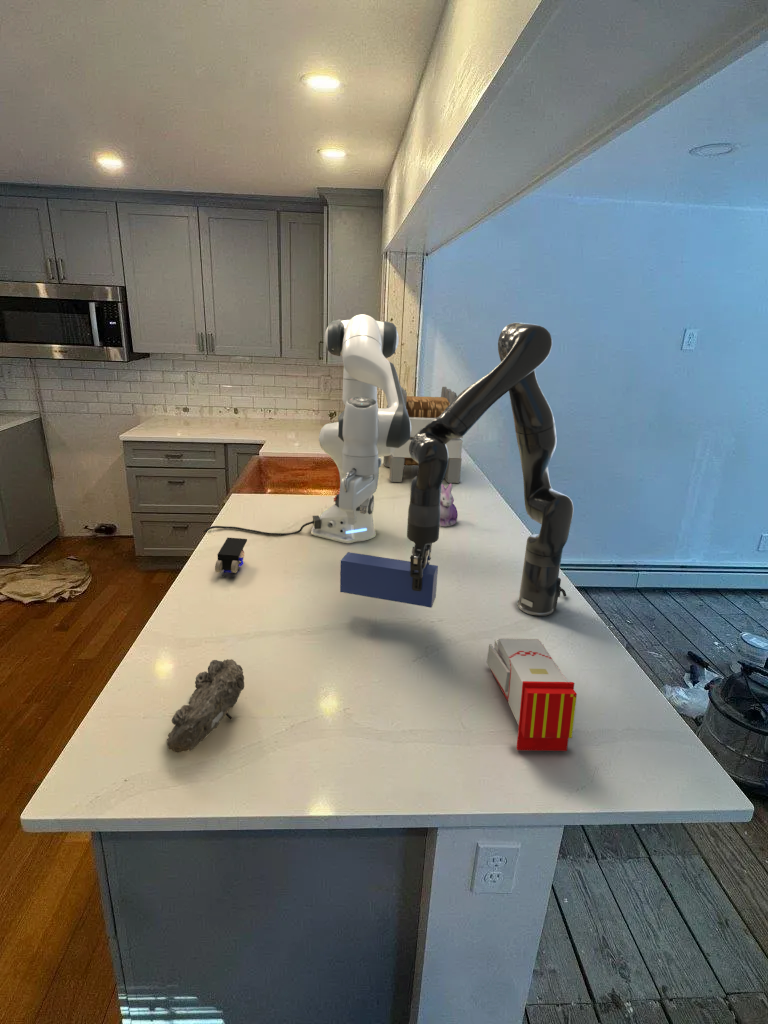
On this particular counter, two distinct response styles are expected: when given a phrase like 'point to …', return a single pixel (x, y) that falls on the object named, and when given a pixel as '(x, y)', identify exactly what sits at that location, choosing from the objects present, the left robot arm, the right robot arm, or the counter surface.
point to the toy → (534, 693)
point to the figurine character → (230, 556)
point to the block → (386, 579)
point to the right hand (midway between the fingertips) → (419, 584)
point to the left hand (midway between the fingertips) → (358, 518)
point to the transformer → (420, 416)
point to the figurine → (447, 507)
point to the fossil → (206, 705)
